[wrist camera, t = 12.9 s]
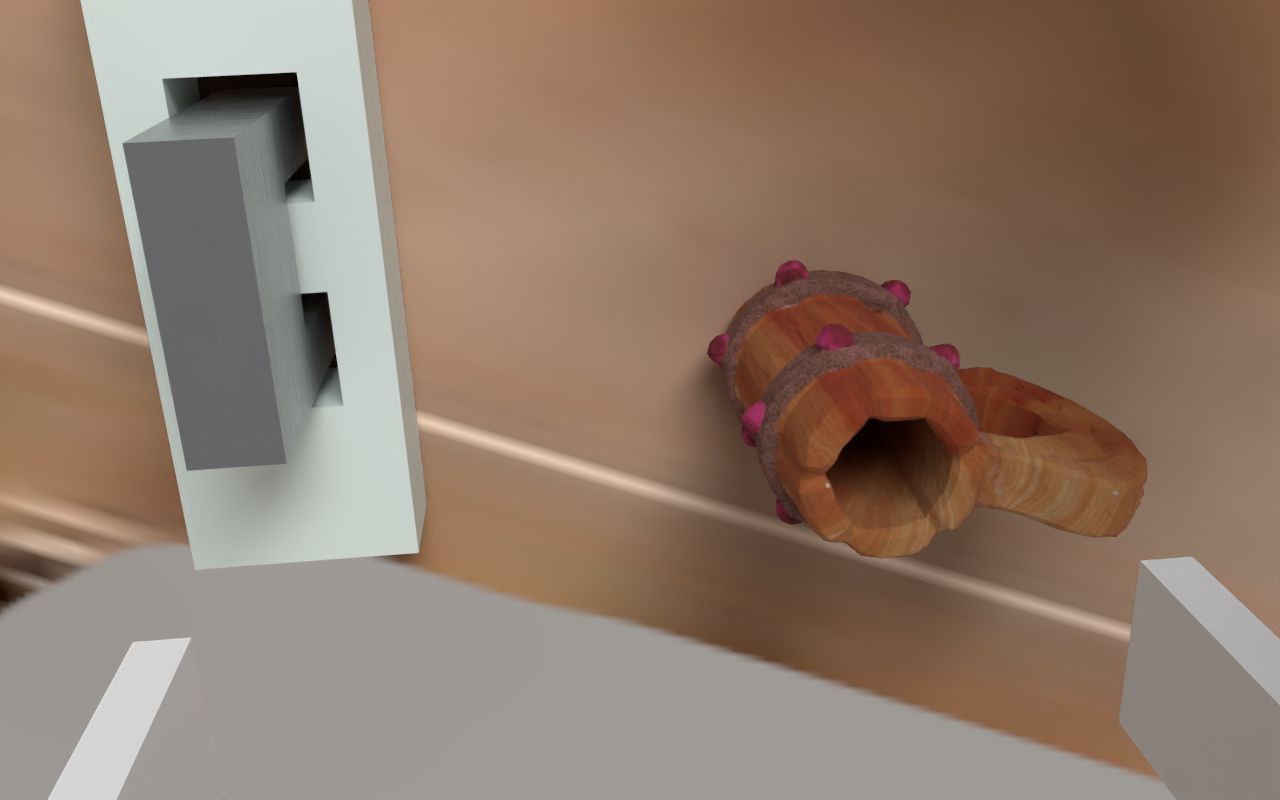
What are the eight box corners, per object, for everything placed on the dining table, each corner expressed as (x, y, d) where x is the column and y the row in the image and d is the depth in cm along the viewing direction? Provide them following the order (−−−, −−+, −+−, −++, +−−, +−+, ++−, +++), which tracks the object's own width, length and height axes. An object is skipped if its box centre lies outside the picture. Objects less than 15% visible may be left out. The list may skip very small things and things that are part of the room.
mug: (680, 409, 53) (736, 583, 39) (718, 231, 50) (793, 349, 36) (990, 453, 55) (1147, 633, 41) (1043, 285, 52) (1232, 415, 38)
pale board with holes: (99, -125, 43) (54, -130, 39) (352, -135, 44) (334, -140, 40) (220, 519, 53) (194, 570, 49) (426, 503, 54) (418, 553, 49)
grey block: (218, 90, 46) (122, 143, 35) (302, 85, 47) (233, 137, 35) (261, 349, 50) (187, 470, 39) (338, 344, 50) (286, 463, 39)
